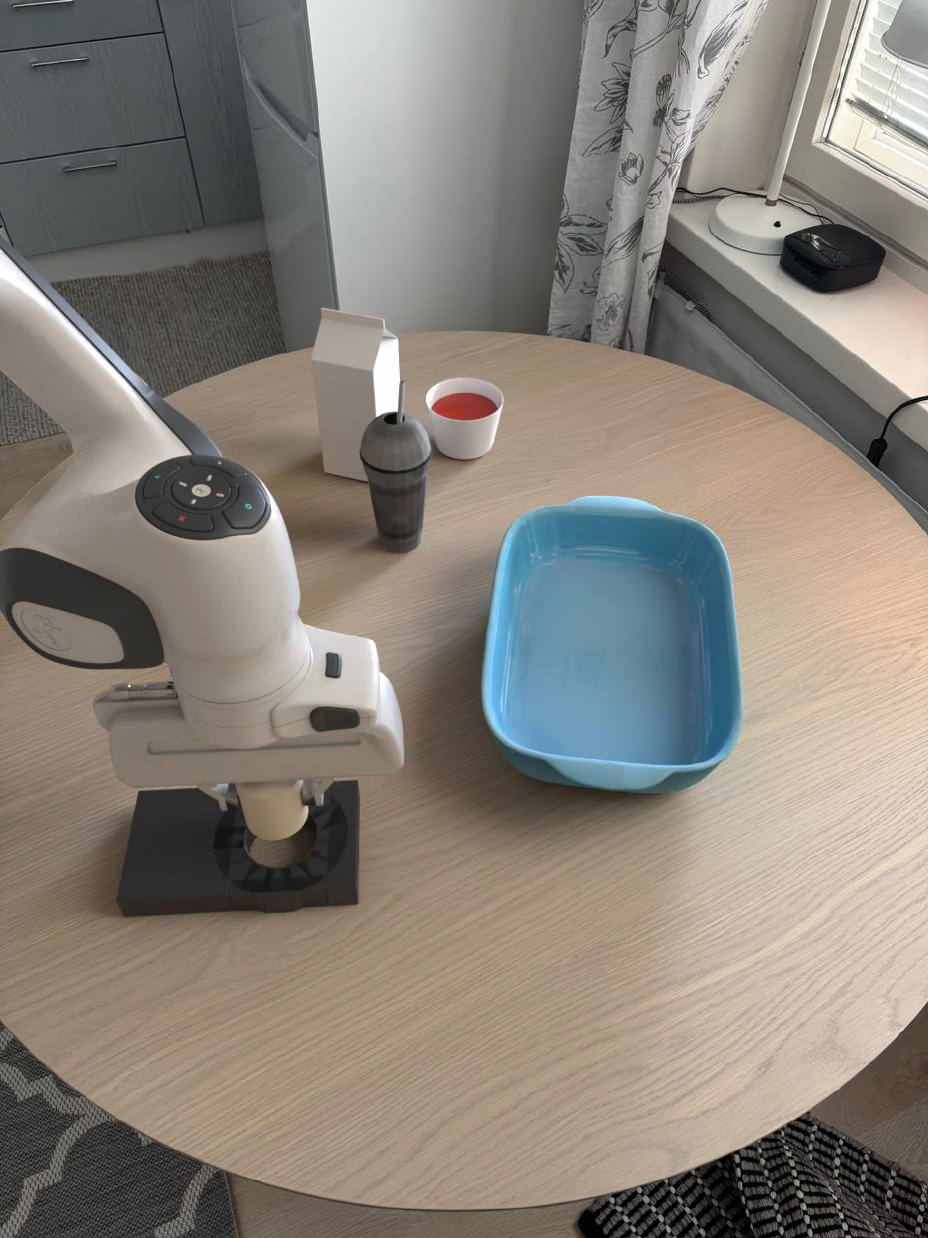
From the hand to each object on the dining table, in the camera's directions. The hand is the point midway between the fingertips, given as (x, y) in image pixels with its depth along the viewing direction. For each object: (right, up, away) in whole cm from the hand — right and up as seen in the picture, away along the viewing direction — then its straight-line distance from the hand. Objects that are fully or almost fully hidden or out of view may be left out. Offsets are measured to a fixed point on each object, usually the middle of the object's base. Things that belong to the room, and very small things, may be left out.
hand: (274, 800), depth 75 cm
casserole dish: (+28, +9, +19) cm, 35 cm away
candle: (+14, +35, +45) cm, 58 cm away
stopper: (0, -1, +1) cm, 2 cm away
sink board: (-3, -5, +5) cm, 8 cm away
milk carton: (+3, +32, +42) cm, 53 cm away
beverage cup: (+8, +22, +32) cm, 40 cm away
